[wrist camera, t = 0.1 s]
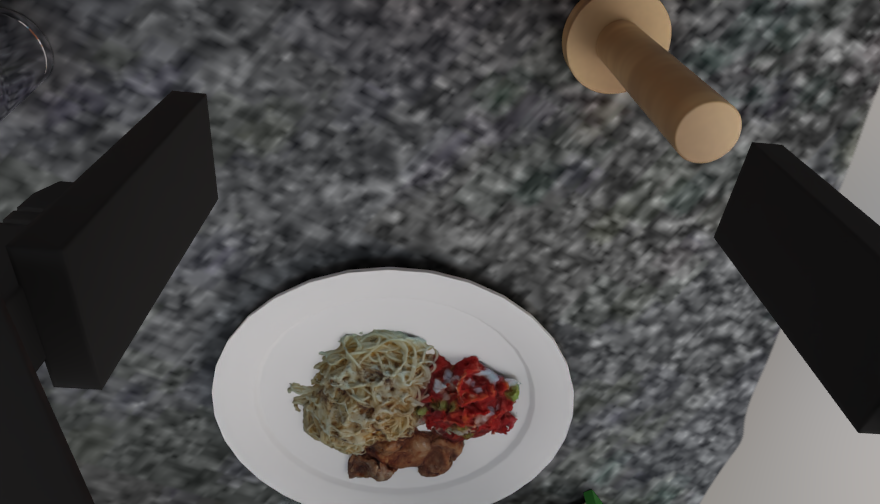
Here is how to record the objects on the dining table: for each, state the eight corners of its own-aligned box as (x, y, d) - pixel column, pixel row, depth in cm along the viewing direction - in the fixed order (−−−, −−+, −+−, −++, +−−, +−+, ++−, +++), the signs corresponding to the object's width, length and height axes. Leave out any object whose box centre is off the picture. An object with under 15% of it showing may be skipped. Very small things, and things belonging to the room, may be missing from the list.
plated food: (141, 364, 50) (123, 395, 47) (448, 183, 42) (449, 208, 39) (361, 539, 64) (358, 571, 61) (626, 431, 56) (636, 462, 53)
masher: (632, -42, 34) (750, 20, 22) (680, 44, 37) (811, 144, 24) (542, 28, 36) (602, 122, 24) (594, 105, 39) (673, 226, 26)
